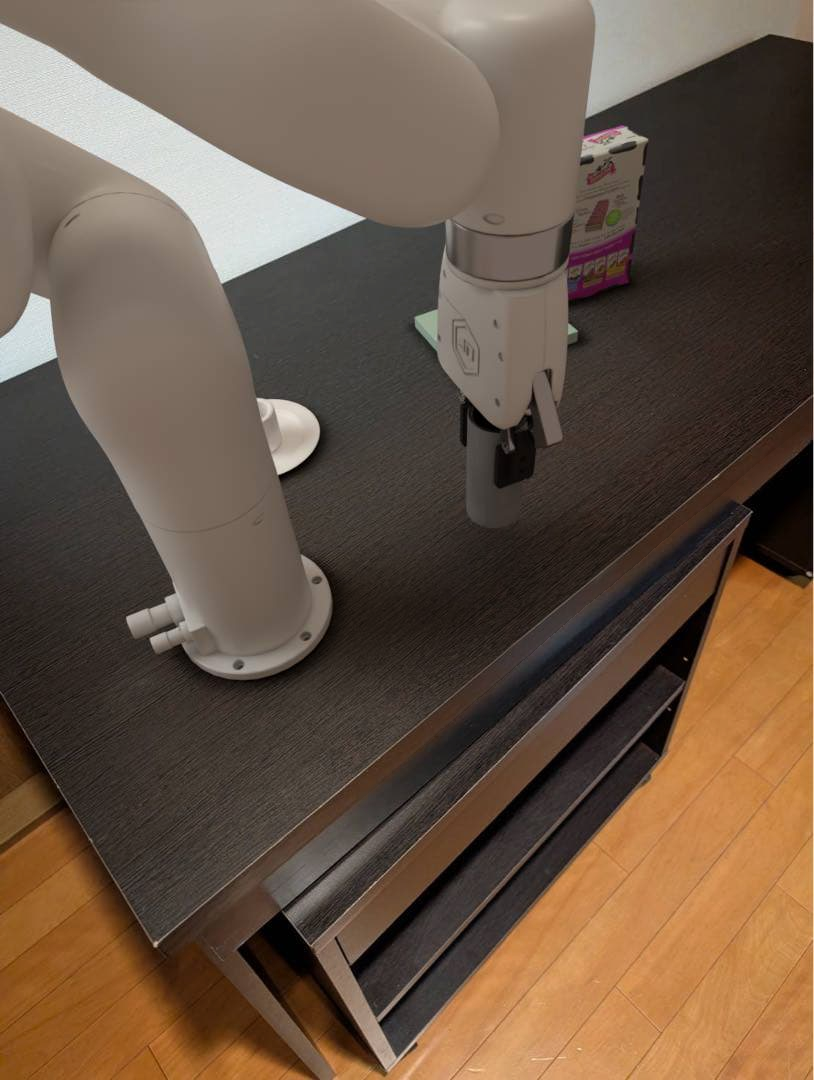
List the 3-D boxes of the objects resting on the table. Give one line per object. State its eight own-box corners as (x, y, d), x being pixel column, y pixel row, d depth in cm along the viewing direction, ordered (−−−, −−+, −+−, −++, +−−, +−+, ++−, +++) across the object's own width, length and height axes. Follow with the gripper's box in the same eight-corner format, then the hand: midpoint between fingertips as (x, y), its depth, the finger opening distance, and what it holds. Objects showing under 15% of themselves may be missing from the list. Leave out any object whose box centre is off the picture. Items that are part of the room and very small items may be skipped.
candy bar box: (605, 265, 93) (624, 122, 81) (629, 284, 90) (652, 138, 78) (525, 291, 91) (531, 148, 78) (547, 312, 88) (557, 166, 75)
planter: (517, 532, 62) (526, 435, 54) (462, 525, 63) (463, 429, 55) (523, 493, 65) (532, 395, 57) (470, 487, 66) (472, 390, 58)
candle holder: (189, 428, 79) (176, 394, 76) (298, 391, 81) (290, 358, 78) (219, 502, 71) (206, 468, 68) (338, 459, 74) (331, 425, 71)
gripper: (392, 196, 50) (406, 413, 64) (528, 321, 40) (509, 549, 53) (492, 170, 52) (484, 387, 66) (646, 283, 42) (599, 513, 55)
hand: (495, 457), depth 59 cm, fingers closed on planter, 4 cm apart
